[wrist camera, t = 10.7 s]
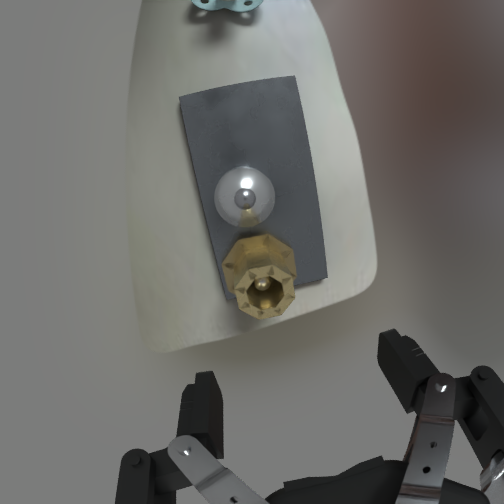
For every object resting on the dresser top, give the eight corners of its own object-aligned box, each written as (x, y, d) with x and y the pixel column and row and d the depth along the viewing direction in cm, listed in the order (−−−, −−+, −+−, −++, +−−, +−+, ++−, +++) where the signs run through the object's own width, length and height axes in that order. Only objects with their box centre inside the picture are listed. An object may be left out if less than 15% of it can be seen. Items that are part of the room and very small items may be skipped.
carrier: (181, 99, 25) (170, 88, 20) (292, 78, 25) (304, 64, 20) (226, 294, 32) (226, 319, 27) (324, 273, 32) (339, 294, 27)
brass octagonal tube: (217, 240, 29) (213, 263, 23) (287, 226, 29) (301, 245, 23) (232, 302, 31) (233, 335, 25) (297, 288, 31) (310, 318, 25)
